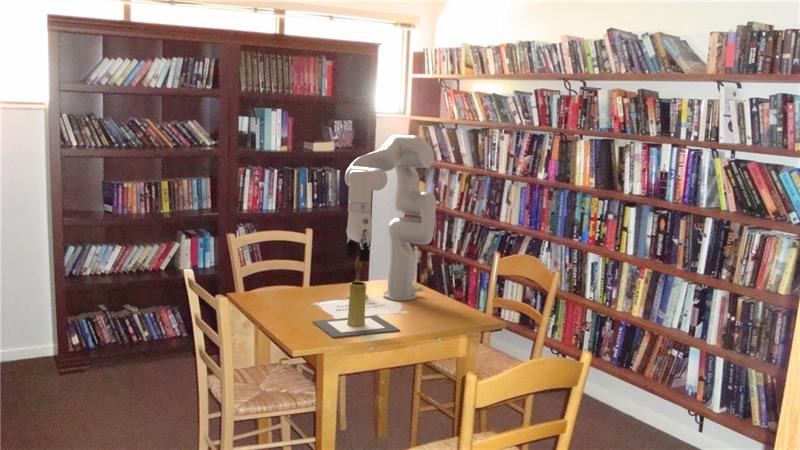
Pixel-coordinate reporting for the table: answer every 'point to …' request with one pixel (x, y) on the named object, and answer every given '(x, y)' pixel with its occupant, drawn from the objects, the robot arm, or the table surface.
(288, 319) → the table surface
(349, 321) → the vase
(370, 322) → the grey picture frame
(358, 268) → the hand bell
